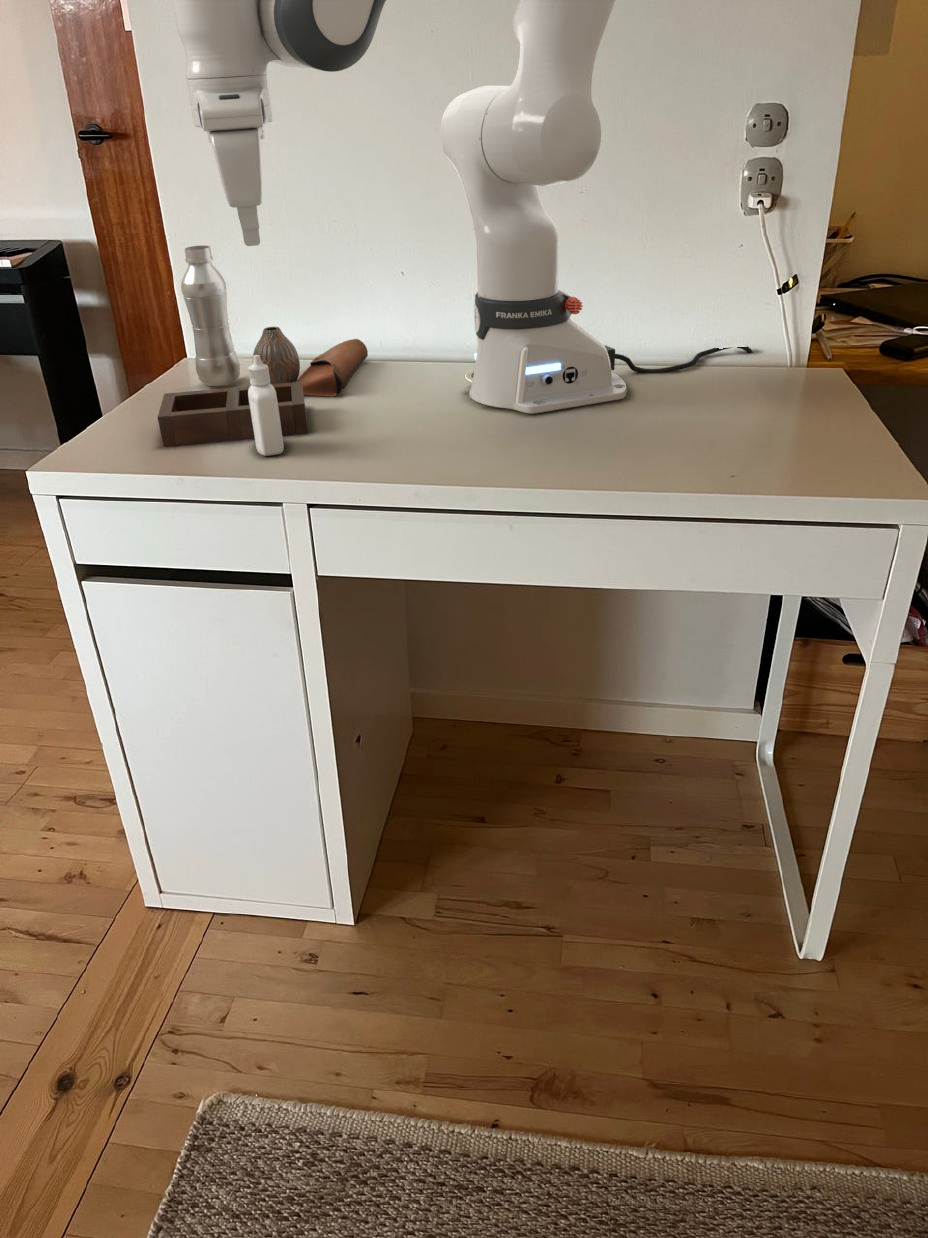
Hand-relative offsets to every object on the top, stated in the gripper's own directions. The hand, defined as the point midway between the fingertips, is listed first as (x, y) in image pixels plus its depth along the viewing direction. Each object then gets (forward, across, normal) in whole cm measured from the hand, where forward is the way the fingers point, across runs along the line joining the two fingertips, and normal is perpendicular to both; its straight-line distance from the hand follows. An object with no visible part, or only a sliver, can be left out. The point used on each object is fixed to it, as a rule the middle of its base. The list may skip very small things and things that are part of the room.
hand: (252, 237), depth 114 cm
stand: (+25, -5, -6) cm, 26 cm away
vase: (+25, -22, 0) cm, 34 cm away
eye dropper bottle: (+25, +5, -2) cm, 25 cm away
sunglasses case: (+25, -24, +8) cm, 36 cm away
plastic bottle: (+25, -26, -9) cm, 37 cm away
